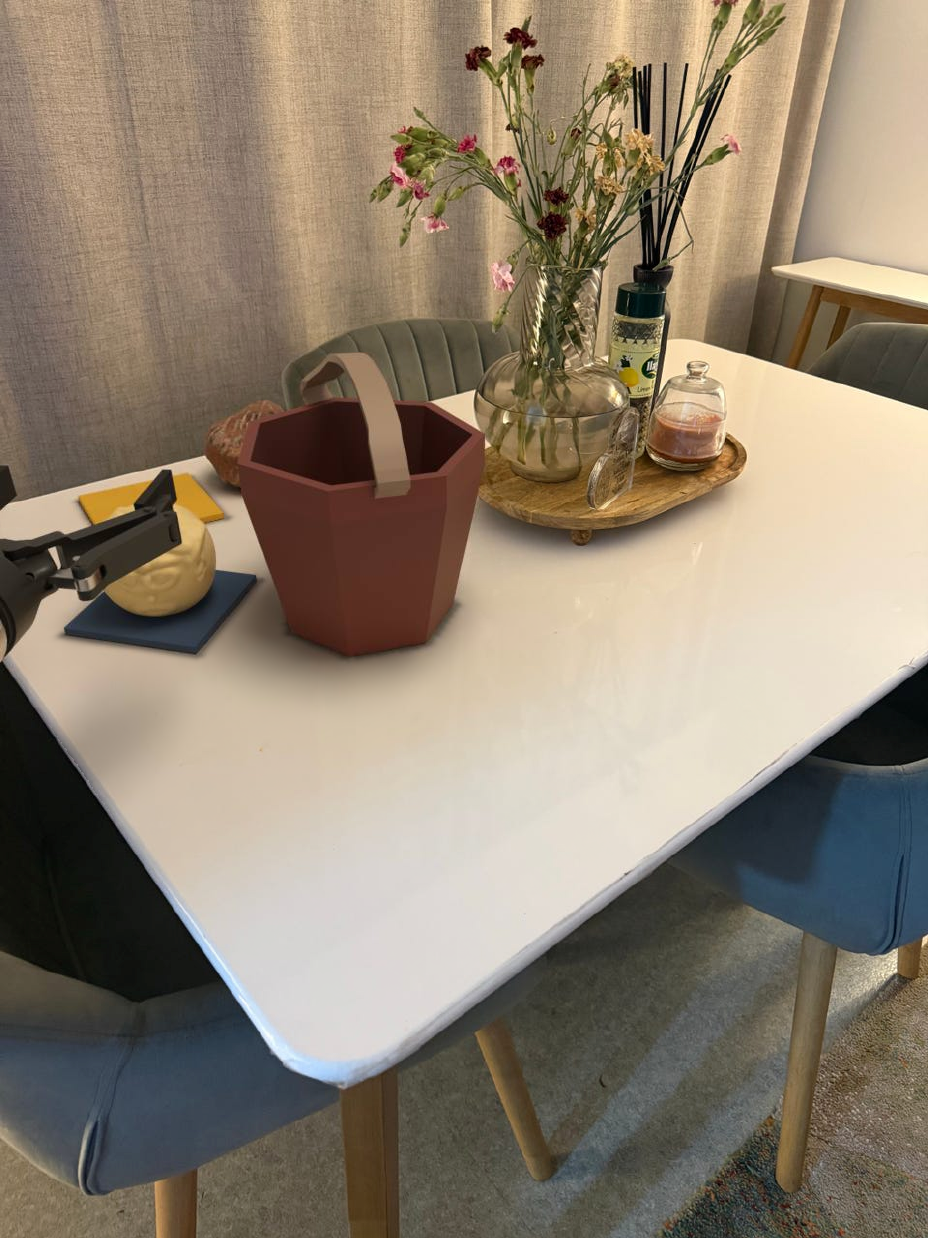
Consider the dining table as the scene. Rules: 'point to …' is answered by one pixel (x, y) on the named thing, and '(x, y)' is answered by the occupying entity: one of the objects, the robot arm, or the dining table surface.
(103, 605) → the blue mat
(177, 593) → the sculpture
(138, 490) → the yellow mat
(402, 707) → the dining table surface
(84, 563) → the robot arm
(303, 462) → the bucket
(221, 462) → the decorative rock
